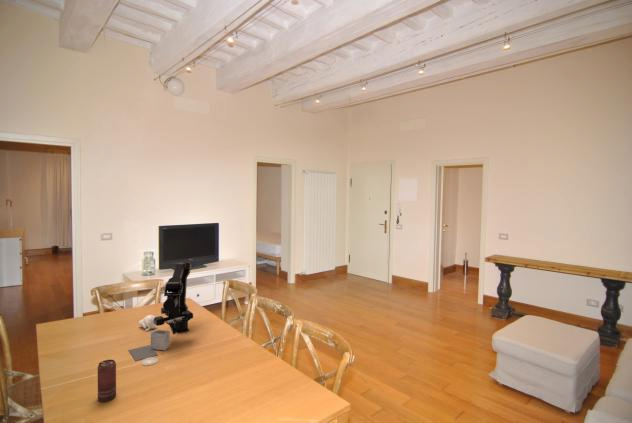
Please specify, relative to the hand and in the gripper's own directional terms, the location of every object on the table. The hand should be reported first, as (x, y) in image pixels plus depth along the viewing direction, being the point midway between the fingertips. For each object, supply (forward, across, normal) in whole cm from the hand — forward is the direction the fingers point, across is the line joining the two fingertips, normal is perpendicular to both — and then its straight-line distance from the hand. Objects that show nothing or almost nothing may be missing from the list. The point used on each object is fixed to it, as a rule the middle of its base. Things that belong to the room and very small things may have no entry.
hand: (173, 333), depth 183 cm
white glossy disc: (+6, +15, +12) cm, 20 cm away
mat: (+6, +15, 0) cm, 16 cm away
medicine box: (+6, +7, 0) cm, 9 cm away
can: (+6, +36, +32) cm, 49 cm away
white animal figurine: (+6, +5, -32) cm, 33 cm away
